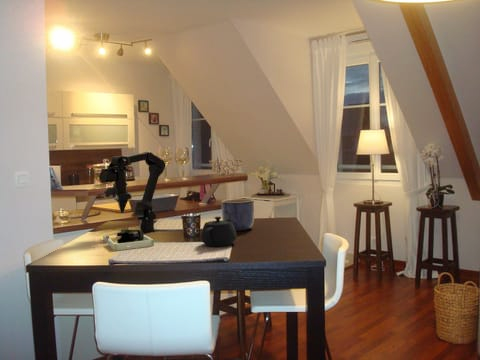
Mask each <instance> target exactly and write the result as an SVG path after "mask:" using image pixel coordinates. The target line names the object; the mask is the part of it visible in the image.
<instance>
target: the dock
mask: <svg viewBox="0 0 480 360" xmlns="http://www.w3.org/2000/svg"><path fill="white" fill-rule="evenodd" d="M108 239H110V235H102V240H103V241H104V242H105V243H106V244H108Z"/></svg>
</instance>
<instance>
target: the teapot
mask: <svg viewBox="0 0 480 360" xmlns="http://www.w3.org/2000/svg"><path fill="white" fill-rule="evenodd" d="M221 218H222V216H215V217H214V219H215V220H212V221H207V222H204V224H203V227H202V229H201V234H200V240H201V242H202V243H203V244H204V245H206V246H208V247H214V248H215V247H217V248H219V247H227V246H231V245H232V244H233V243H234V242H235V241H236V240H237V237H238V236H237V231H235V229H234V226H233V225H232V223H231V222H230V221H231V218H229V219H228V220H227V221H223V220H221Z"/></svg>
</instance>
